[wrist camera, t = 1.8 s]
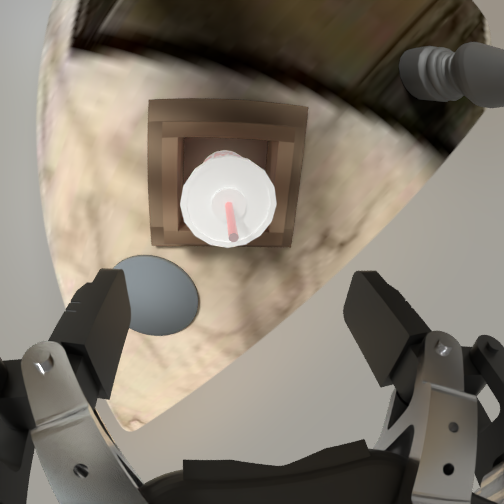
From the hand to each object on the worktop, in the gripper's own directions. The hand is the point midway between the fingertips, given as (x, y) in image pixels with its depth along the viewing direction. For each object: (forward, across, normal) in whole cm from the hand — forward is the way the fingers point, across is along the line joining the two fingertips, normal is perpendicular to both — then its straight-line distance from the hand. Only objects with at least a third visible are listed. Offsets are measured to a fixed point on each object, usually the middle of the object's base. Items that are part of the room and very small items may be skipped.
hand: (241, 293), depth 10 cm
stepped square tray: (+18, 0, 0) cm, 18 cm away
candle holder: (+18, -20, -14) cm, 31 cm away
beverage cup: (+19, 0, 0) cm, 19 cm away
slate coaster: (+18, +8, +14) cm, 24 cm away
